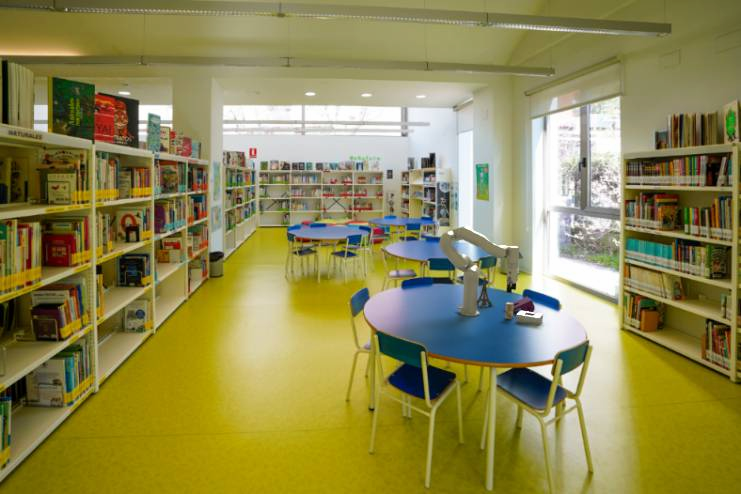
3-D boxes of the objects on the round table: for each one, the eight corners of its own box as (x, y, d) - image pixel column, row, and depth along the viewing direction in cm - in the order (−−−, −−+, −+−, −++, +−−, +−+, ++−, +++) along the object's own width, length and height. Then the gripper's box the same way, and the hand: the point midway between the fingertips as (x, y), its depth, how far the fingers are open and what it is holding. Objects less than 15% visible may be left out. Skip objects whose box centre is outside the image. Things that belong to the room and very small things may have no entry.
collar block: (516, 321, 286) (516, 314, 286) (520, 317, 295) (520, 310, 294) (538, 325, 279) (539, 318, 278) (542, 321, 287) (543, 314, 286)
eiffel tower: (473, 304, 325) (474, 270, 321) (484, 302, 330) (486, 269, 326) (482, 308, 316) (484, 273, 312) (494, 306, 320) (496, 272, 316)
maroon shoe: (512, 321, 305) (536, 311, 304) (507, 311, 304) (531, 300, 303) (507, 317, 314) (531, 307, 313) (503, 307, 313) (527, 296, 312)
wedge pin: (505, 318, 293) (505, 303, 292) (506, 316, 297) (507, 302, 295) (511, 319, 291) (512, 304, 290) (512, 317, 294) (513, 303, 293)
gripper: (514, 268, 279) (513, 294, 282) (521, 263, 294) (520, 289, 296) (502, 266, 283) (501, 293, 286) (510, 262, 298) (509, 287, 300)
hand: (511, 291), depth 291 cm, fingers open, 9 cm apart
